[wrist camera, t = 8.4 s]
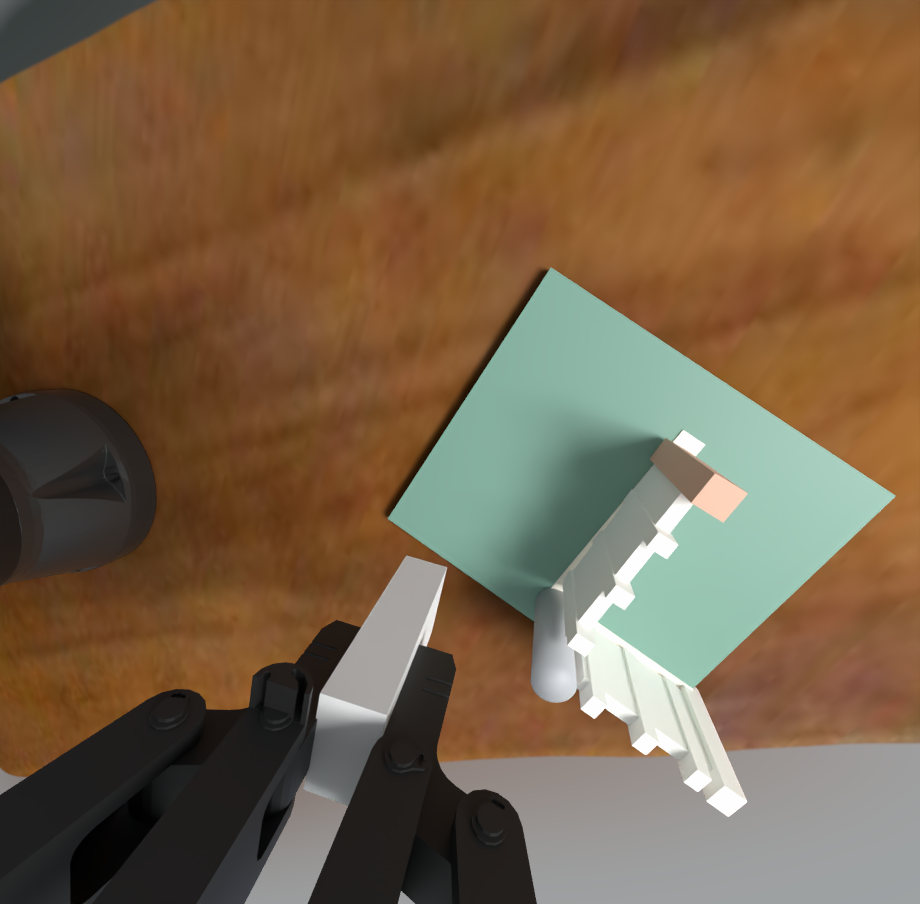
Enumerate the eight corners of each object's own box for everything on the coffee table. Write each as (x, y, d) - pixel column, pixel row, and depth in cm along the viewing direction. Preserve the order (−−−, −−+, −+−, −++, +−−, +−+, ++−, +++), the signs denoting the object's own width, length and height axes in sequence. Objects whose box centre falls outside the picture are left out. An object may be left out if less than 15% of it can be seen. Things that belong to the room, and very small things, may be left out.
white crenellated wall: (665, 437, 27) (715, 473, 19) (688, 451, 27) (748, 493, 19) (557, 581, 30) (560, 663, 22) (577, 593, 30) (587, 681, 22)
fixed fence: (529, 601, 32) (522, 684, 24) (548, 577, 32) (548, 654, 23) (679, 706, 32) (724, 827, 24) (702, 684, 31) (756, 801, 23)
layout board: (390, 515, 33) (387, 519, 32) (550, 269, 27) (550, 267, 27) (663, 707, 32) (665, 715, 31) (888, 492, 26) (897, 496, 26)
